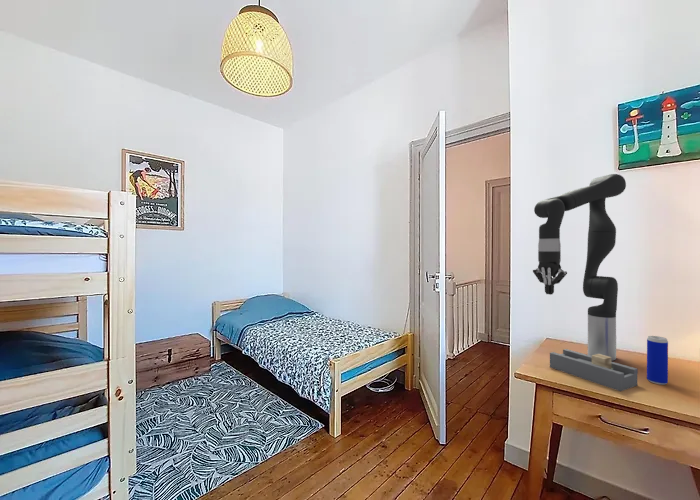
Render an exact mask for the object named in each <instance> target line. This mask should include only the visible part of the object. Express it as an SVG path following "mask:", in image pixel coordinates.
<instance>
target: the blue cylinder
mask: <svg viewBox="0 0 700 500" xmlns="http://www.w3.org/2000/svg"><path fill="white" fill-rule="evenodd" d="M646 379H647V381H648V382H650V383H652V384H656V385H662V386H664V385H667V384H668V383H669V341H668V339H667V338H666V337H662V336H659V335H648V336H647V339H646Z"/></svg>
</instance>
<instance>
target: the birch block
mask: <svg viewBox="0 0 700 500" xmlns="http://www.w3.org/2000/svg"><path fill="white" fill-rule="evenodd" d="M611 362H612V361H611V357H609V356H605V355H601V354H595V355H592V364H595V365H599V366H602V367H605V368H609V369H611Z"/></svg>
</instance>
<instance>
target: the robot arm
mask: <svg viewBox="0 0 700 500" xmlns="http://www.w3.org/2000/svg"><path fill="white" fill-rule="evenodd" d="M626 187H627V183H626V180H625V177H624V176H623V175H621V174H619V173H611V174H606V175H602V176H598V177H595V178H593V179H591V181H590V183H589V185H588V186H585V187H580V188H576V189H573V190H570V191H567V192H565V193H562V194H560V195H557V196H552V197H549V198H546V199H542V200H539V202H537V203H536V204H535V205H534V210H533V211H534V214H535V216H536V217H538V218H541V219H546V218H547V219H546V222H545V223H543V224H540V225H539V228H538V244H537V248H538V249H537V252H538V253H537V259H538V260H537V261H538V265H537V268H535V269H532V273H533V274H534V276H535V277H536V279H537V280H538V282H540V283H542V284H544V293H545V294H546V295H550V296H551V295H553V294H554V293H555V285H556V284H560V282H562V281H563V279H564V278H565V277H566V276H567V274H568V272H567V271H564V270H563V268H562V265H561V258H562V256H561V247H562V246H561V232H560V231H561V229H560V228H561V225H562V222H563V219H564V216H565V212H569V211H571V210H574V209H577V208H579V207H581V206H583V205H586V204H588V207H589V217H588V231H587V247H586V249H587V252H586V253H587V254H586V262H585V268H584V275H583V281H582V292H583V295H584V296H585V297H586V298H590V299H591V298H592V299H600V300H603V302H602V303H601V304H598V305H594V306H593V305H592V306H589V307H588V308H587V355H590V356H592V355H595V354H601V355H605V356H609V357H611V362H614V361H616V359H617V311H618V310H617V309H618V292H619V283H618V280H617V279H616V278H615V277H613V276H603V275H598V271H599V267H600V265H601V264H602V262H603V261H604V260H605V259H606V257H607V256H609V254H610V253H611V252H612V251H613V249H614V248H615V246H616V242H617V241H616V240H617V239H616V238H617V227H616V226H615V224H614V222H613V220H612V219H611V217H610V216H609V215H608V213H607V210H606V199H609V198H614V197H617V196H620V195H621V194H623V193H624V191H625V190H626Z"/></svg>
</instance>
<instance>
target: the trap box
mask: <svg viewBox="0 0 700 500" xmlns="http://www.w3.org/2000/svg"><path fill="white" fill-rule="evenodd" d="M549 368H551V369H555V370H557V371H559V372H563V373H566V374H568V375H572V376H574V377H576V378H581V379H583V380H586V381H589V382H591V383H595V384H598V385H601V386H604V387H606V388H610V389H612V390H615V391H618V392H623V391H625V390H628V389H632V388H634V387H636V386H638V370H639V369H638V368H636V367H632V366H629V365H625V364H621V363H618V362H614V361H611V369H609V368H605V367H602V366H599V365H595V364H592V356H590V355H588V354H585V353H582V352H578V351H575V350H571V349H568V348H565V349H562V353H557V352H555V351H551V352H549Z"/></svg>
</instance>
